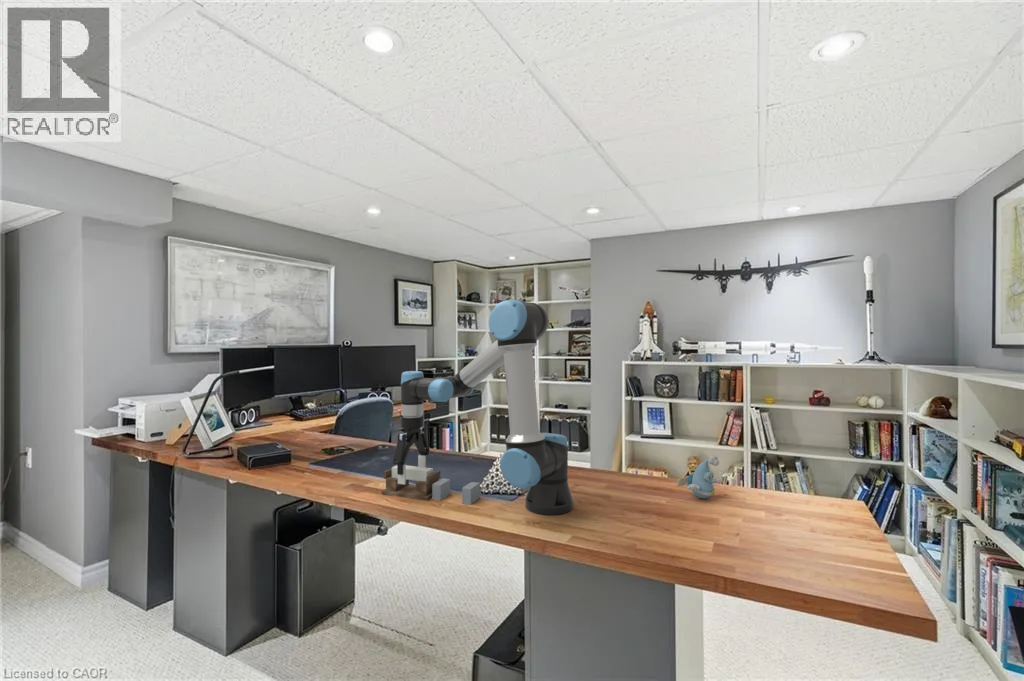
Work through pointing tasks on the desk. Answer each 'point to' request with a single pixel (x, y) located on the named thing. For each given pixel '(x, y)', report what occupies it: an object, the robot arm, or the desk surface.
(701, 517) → the desk surface
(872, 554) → the desk surface
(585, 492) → the desk surface
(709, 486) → the toy figure
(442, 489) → the blocks
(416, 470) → the pale grey long block
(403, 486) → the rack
